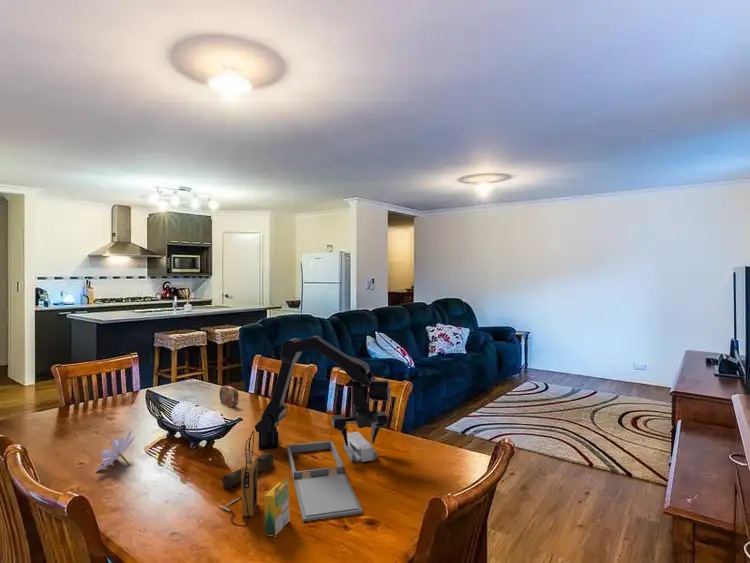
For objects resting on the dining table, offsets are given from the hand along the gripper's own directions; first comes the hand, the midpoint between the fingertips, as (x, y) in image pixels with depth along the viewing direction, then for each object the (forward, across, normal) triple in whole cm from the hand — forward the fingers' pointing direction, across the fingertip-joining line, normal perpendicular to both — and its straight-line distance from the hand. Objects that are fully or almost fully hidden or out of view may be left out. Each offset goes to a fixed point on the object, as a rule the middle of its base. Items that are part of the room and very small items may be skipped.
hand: (359, 444), depth 157 cm
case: (+3, -16, -15) cm, 22 cm away
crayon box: (+4, -30, -38) cm, 49 cm away
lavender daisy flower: (+4, -78, +13) cm, 79 cm away
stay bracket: (+3, 0, 0) cm, 3 cm away
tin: (+4, -45, +71) cm, 84 cm away
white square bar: (+2, 0, 0) cm, 2 cm away
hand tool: (+4, -36, -7) cm, 37 cm away
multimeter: (+4, -40, -27) cm, 48 cm away
